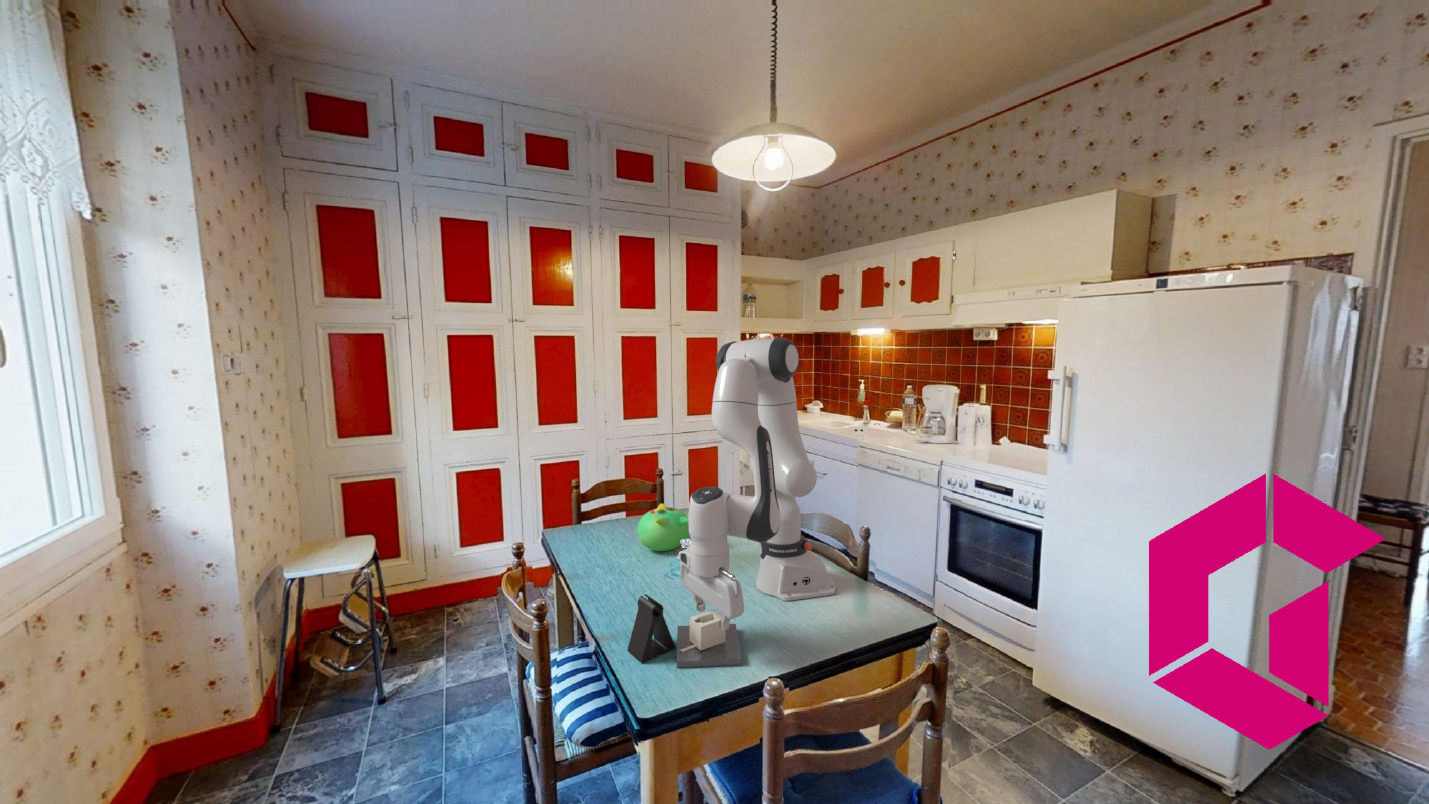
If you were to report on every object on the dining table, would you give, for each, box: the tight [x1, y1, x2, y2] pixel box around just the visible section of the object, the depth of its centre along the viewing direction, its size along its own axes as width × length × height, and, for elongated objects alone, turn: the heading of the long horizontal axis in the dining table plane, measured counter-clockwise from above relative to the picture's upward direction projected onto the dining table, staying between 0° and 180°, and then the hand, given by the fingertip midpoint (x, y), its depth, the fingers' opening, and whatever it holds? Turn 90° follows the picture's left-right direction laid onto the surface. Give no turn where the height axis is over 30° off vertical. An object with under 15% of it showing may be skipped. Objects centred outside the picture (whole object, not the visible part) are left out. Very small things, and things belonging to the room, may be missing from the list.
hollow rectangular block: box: [689, 609, 725, 651], centre depth 117 cm, size 7×5×6 cm
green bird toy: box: [637, 503, 690, 552], centre depth 174 cm, size 18×17×15 cm
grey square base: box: [676, 621, 743, 669], centre depth 118 cm, size 14×14×6 cm
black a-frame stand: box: [626, 593, 676, 664], centre depth 117 cm, size 9×6×12 cm, turn 129°
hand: (712, 619), depth 117 cm, fingers open, 8 cm apart
